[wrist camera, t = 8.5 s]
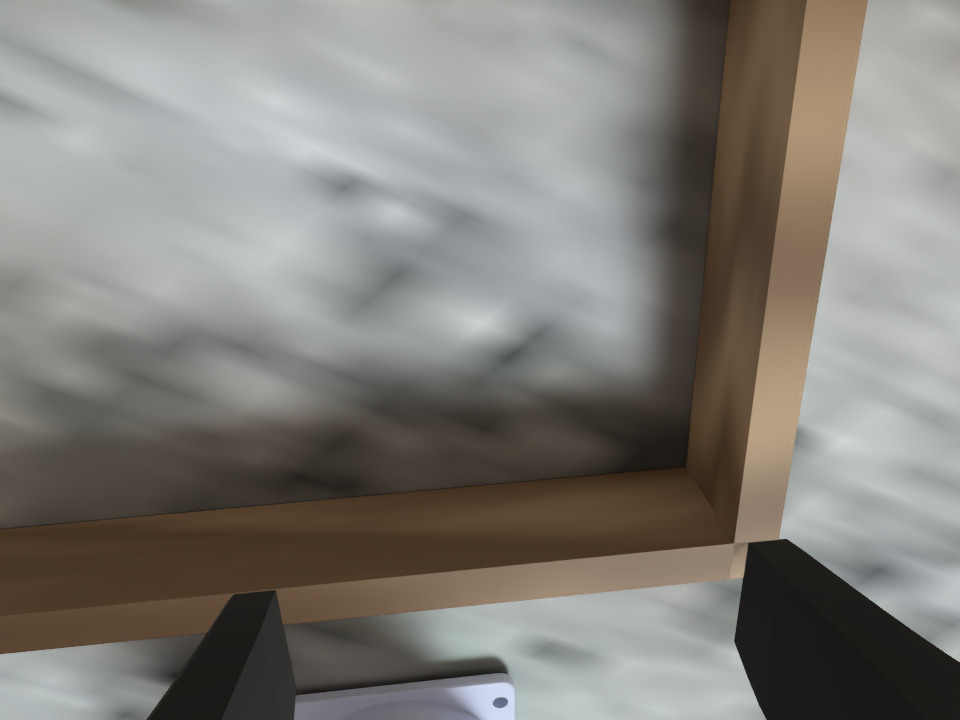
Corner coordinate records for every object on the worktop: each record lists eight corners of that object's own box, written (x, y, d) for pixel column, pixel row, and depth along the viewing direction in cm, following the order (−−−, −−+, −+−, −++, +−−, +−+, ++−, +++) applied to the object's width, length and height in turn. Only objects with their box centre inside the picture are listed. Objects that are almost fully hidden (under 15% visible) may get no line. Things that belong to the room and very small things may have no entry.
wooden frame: (720, 495, 23) (772, 574, 20) (-5, 564, 22) (-75, 661, 19) (801, -181, 16) (906, -229, 13) (-295, -152, 14) (-497, -197, 11)
